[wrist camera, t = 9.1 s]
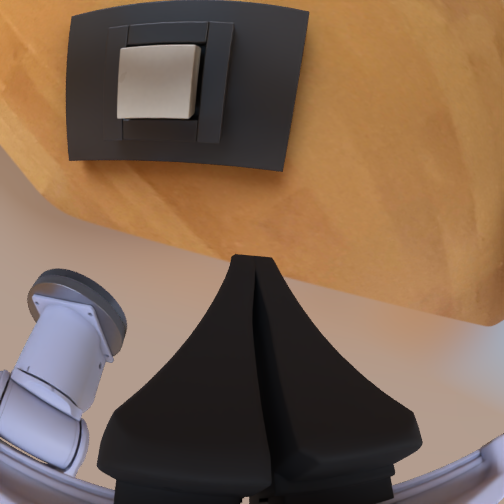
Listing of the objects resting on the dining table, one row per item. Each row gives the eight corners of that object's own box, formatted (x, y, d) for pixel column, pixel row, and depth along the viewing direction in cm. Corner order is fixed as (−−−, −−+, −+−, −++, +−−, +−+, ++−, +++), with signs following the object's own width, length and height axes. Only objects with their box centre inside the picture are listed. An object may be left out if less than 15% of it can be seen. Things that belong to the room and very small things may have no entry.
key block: (279, 163, 18) (286, 183, 15) (80, 153, 17) (54, 170, 14) (303, 16, 12) (317, 4, 10) (84, 18, 11) (55, 13, 8)
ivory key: (194, 114, 13) (188, 119, 12) (129, 113, 13) (116, 119, 12) (201, 47, 11) (196, 44, 10) (133, 49, 11) (120, 48, 9)
